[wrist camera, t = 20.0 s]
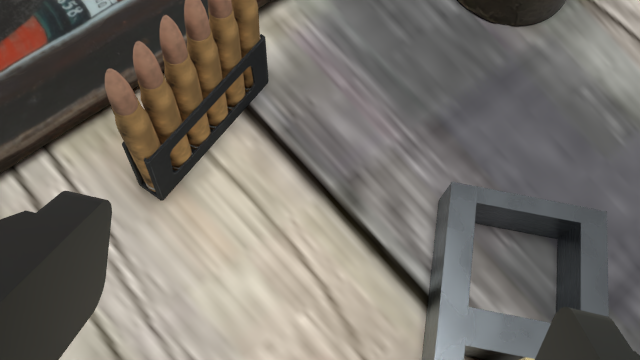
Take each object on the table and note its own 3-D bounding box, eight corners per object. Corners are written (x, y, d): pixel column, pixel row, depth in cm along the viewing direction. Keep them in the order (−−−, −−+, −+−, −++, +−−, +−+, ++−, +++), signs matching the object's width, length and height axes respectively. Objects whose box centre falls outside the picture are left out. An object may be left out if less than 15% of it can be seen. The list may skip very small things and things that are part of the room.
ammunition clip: (247, 66, 40) (235, -75, 29) (269, 81, 39) (266, -57, 28) (138, 184, 36) (76, 73, 25) (162, 201, 35) (109, 96, 24)
